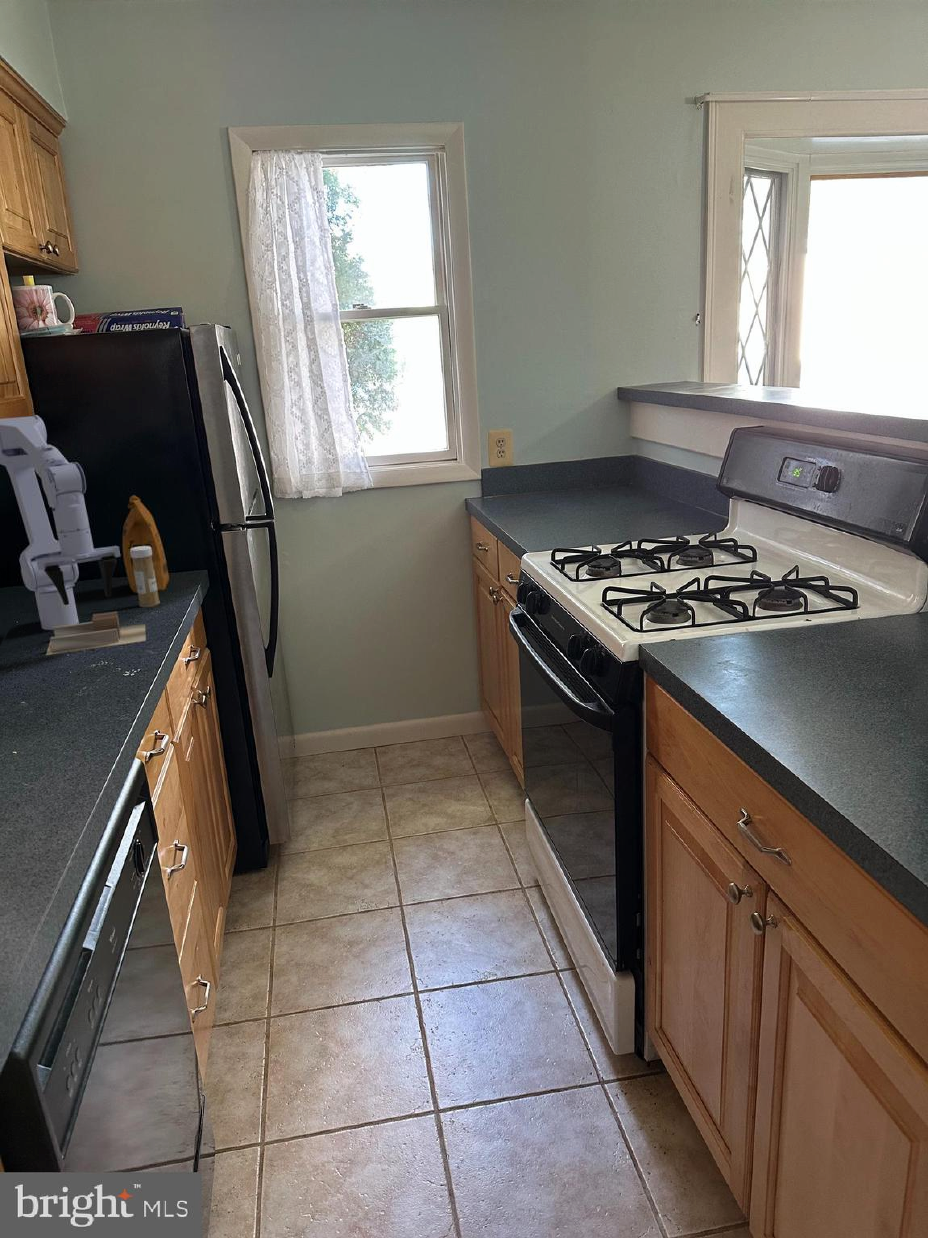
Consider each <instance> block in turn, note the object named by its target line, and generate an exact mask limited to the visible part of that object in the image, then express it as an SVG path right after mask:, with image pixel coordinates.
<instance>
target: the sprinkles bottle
mask: <svg viewBox="0 0 928 1238" xmlns="http://www.w3.org/2000/svg"><path fill="white" fill-rule="evenodd" d="M130 554H131V557H132V560H133V567H134V575H135V581H136V586H137V592H138V593H137V595H138V600H139V603H138V605H139V607H141V608H149V607H156V606H159V605H160V604H161V601H160V598H159V592H158V591H159V590H158V591H157V584H156V578H155V572H154V567H153V561H152V549H151V547H150V546H139V547H134V548H132V549H130Z"/></svg>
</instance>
